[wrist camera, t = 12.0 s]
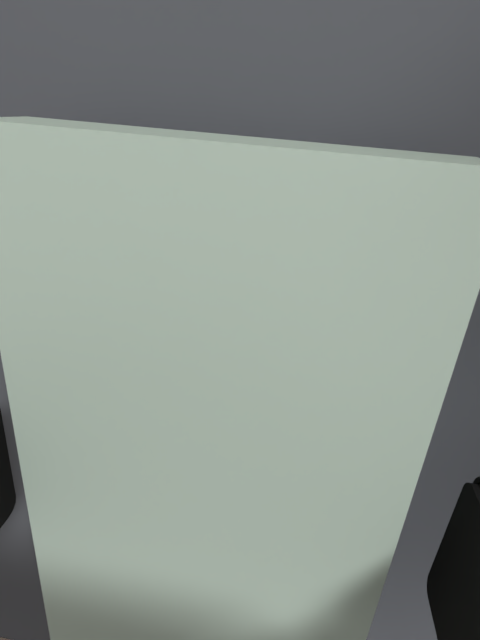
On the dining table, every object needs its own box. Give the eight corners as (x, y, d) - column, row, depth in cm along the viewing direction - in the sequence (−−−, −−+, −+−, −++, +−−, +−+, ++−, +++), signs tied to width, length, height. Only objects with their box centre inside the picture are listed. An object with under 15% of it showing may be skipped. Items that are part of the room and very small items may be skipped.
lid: (57, 115, 8) (-40, 118, 6) (456, 151, 8) (518, 169, 5) (98, 575, 14) (55, 667, 12) (333, 621, 13) (336, 731, 11)
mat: (-164, -187, 8) (-226, -225, 7) (873, -157, 6) (966, -202, 5) (8, 608, 17) (-8, 635, 16) (440, 701, 16) (448, 737, 15)
